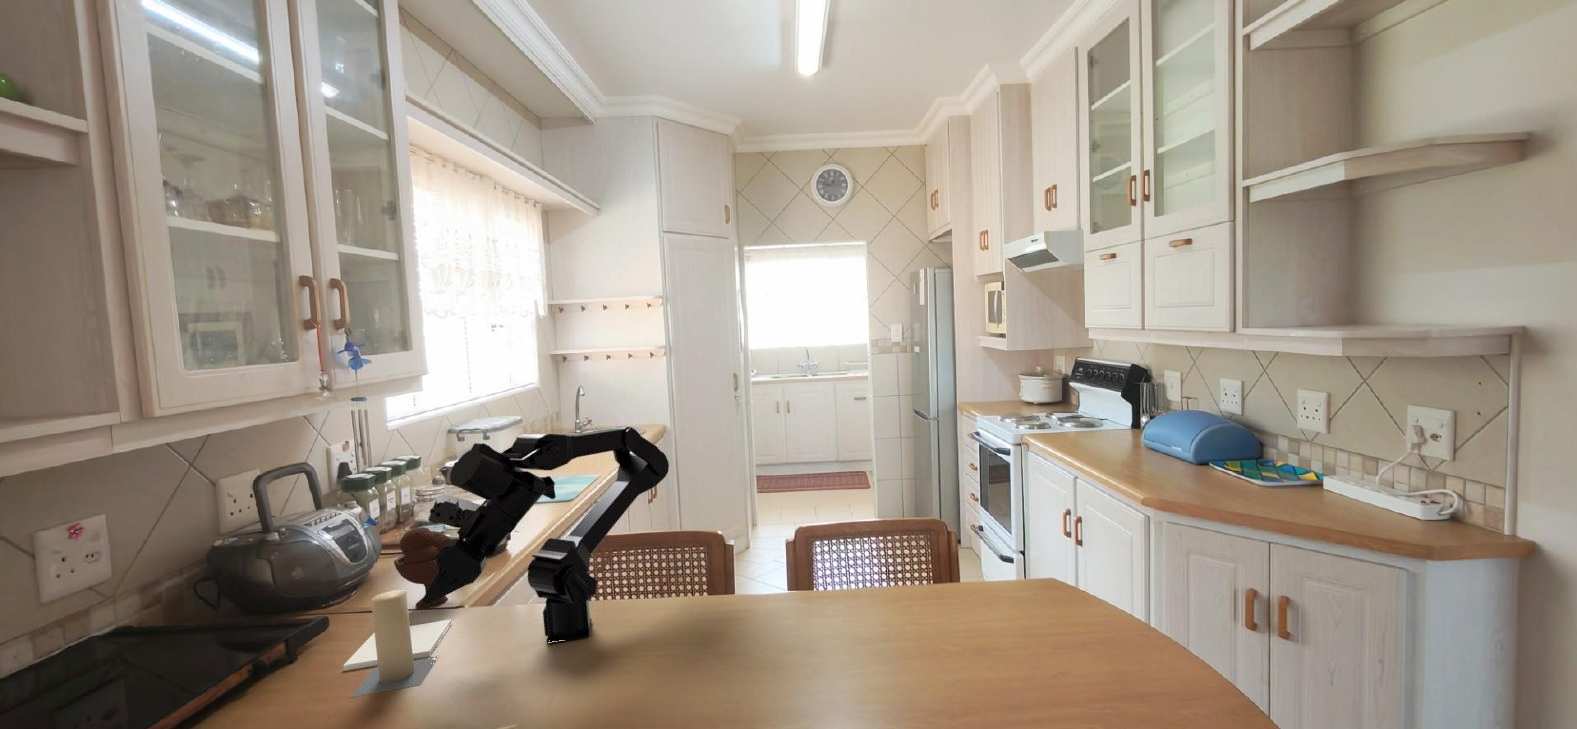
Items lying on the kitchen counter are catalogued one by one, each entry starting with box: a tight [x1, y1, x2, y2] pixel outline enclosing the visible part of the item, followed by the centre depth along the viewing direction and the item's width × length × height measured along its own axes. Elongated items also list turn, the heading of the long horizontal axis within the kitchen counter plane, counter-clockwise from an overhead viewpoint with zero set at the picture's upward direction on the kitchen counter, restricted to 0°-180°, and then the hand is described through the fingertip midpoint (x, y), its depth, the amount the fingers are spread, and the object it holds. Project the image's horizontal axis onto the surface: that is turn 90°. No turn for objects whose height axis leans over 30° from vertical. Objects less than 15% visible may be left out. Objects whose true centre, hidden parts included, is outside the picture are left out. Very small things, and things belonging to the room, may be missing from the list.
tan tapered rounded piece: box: [370, 589, 414, 684], centre depth 94 cm, size 4×4×12 cm
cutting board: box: [343, 618, 453, 672], centre depth 104 cm, size 12×12×1 cm
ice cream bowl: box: [393, 526, 452, 610], centre depth 122 cm, size 11×11×15 cm
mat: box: [349, 655, 438, 699], centre depth 94 cm, size 9×9×1 cm
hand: (434, 590), depth 95 cm, fingers open, 9 cm apart
